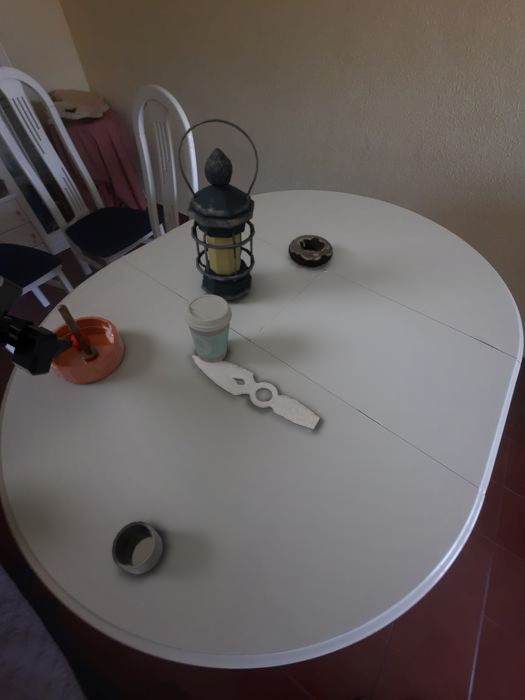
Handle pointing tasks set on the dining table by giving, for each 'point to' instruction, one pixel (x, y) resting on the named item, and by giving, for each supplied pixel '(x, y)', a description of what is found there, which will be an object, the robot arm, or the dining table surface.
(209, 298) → the coffee cup
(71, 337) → the cherry tomato
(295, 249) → the donut
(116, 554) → the utensil holder
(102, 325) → the bowl
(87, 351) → the brown wooden rod
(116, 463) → the dining table surface
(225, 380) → the knife
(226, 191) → the lantern
